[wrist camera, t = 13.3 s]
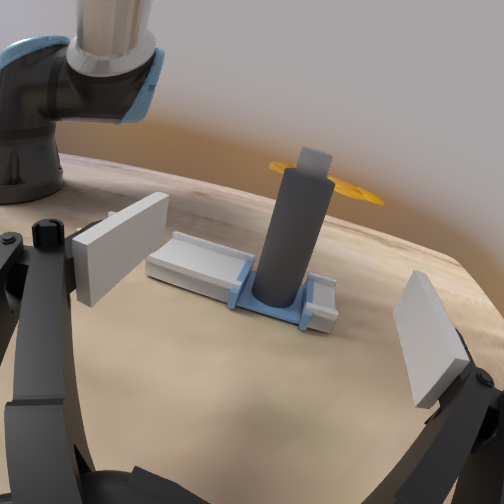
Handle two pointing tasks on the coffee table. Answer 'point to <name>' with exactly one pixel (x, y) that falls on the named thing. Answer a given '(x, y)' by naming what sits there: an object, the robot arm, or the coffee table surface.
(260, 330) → the coffee table surface
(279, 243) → the cable plug
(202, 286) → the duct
